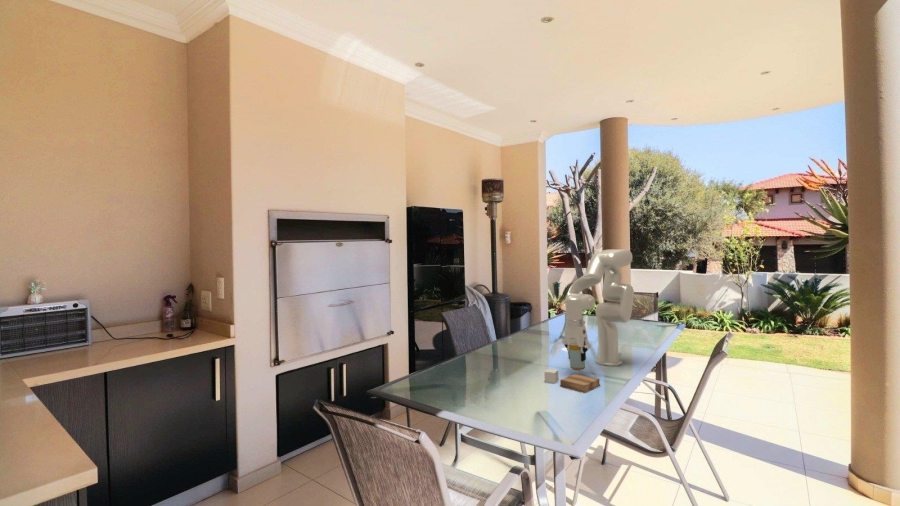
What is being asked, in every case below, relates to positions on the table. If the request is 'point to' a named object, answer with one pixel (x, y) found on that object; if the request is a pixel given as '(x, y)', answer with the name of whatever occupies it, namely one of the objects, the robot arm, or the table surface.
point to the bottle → (575, 355)
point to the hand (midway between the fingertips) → (577, 359)
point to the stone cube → (551, 376)
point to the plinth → (579, 383)
